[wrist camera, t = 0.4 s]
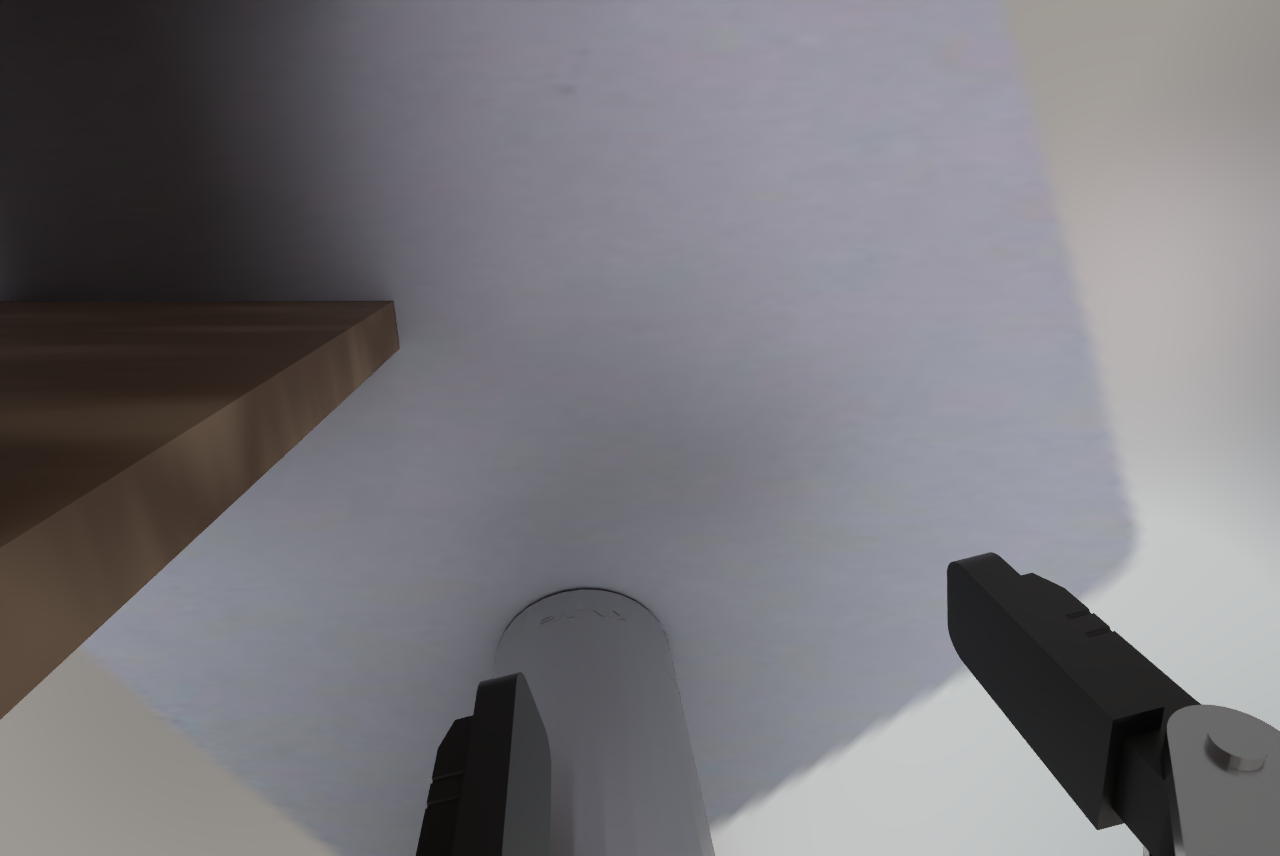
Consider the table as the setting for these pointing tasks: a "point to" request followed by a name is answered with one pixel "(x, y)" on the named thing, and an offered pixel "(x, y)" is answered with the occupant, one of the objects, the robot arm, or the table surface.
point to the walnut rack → (146, 442)
